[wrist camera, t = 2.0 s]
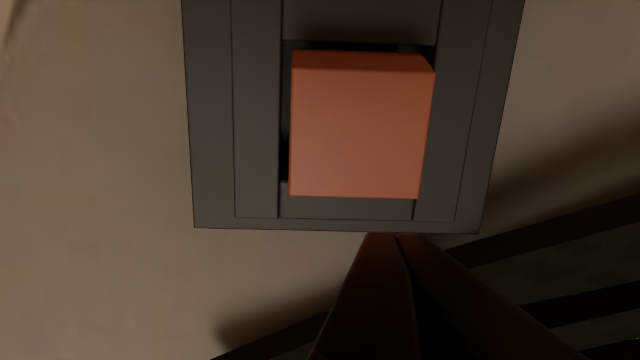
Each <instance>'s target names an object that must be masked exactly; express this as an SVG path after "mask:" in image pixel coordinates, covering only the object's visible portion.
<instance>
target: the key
mask: <svg viewBox="0 0 640 360" xmlns="http://www.w3.org/2000/svg"><path fill="white" fill-rule="evenodd" d="M435 77H436V73H435V71H434V70H433V69H432V68H431V66H430V65H429V64H428V62H427V61H426V60H425V58H424V57H423V56H422V54H420V53H402V52H375V51H349V50H323V49H297V48H294V49H293V50H292V64H291V101H290V140H289V179H288V194H289V196H308V197H348V198H388V199H418V198H419V192H420V185H421V178H422V171H423V164H424V156H425V149H426V142H427V135H428V128H429V120H430V113H431V106H432V99H433V92H434V85H435Z"/></svg>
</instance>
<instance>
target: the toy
mask: <svg viewBox="0 0 640 360" xmlns="http://www.w3.org/2000/svg"><path fill="white" fill-rule="evenodd" d="M443 251H445V252H446V253H447V254H449V255H450V256H451V257H453V258H454V259H455V260H457V261H458V262H459V263H461V264H462V265H463V266H465V267H466V268H467V269H469V270H470V271H472V272H473V273H474V274H476V275H477V276H478V277H480V278H481V279H482V280H484V281H485V282H486V283H488V284H489V285H490V286H492V287H493V288H494V289H496V290H497V291H498V292H500V293H501V294H502V295H504V296H505V297H506V298H508V299H509V300H511V301H512V302H513V303H515V304H516V305H517V306H518V305H523V304H527V303H532V302H537V301H542V300H547V299H552V298H557V297H561V296H566V295H571V294H576V293H581V292H585V293H581V294H577V295H573V296H568V297H564V298H560V299H556V300H552V301H548V302H544V303H540V304H535V305H531V306H527V307H523V308H521V309H523V310H524V311H525V312H527V313H528V314H529V315H531V316H532V317H533V318H535V319H536V320H537V321H539V322H540V323H541V324H543V325H544V326H545V327H547V328H548V329H549V330H551V331H552V332H554V333H555V334H556V335H558V336H559V337H560V338H562V339H563V340H564V341H566V342H567V343H568V344H570V345H571V346H572V347H574V348H575V349H576V351H577V352H576V354H577V353H582V354H583V355H585V356H586V357H587V358H589V359H590V360H640V338H639V337H640V193H639V194H635V195H632V196H629V197H625V198H622V199H618V200H615V201H611V202H608V203H605V204H601V205H598V206H594V207H591V208H587V209H584V210H581V211H577V212H574V213H570V214H567V215H563V216H560V217H557V218H553V219H550V220H546V221H543V222H539V223H536V224H533V225H529V226H526V227H522V228H519V229H515V230H512V231H509V232H505V233H502V234H498V235H495V236H491V237H488V238H485V239H481V240H478V241H474V242H471V243H467V244H464V245H460V246H457V247H454V248H450V249H447V250H443ZM605 287H606V288H605ZM600 288H601V289H600ZM595 289H597V290H595ZM591 290H593V291H591ZM586 291H589V292H586ZM330 310H331V309H330ZM330 310H328V311H325V312H323V313H321V314H318V315H316V316H313V317H311V318H309V319H306V320H304V321H301V322H299V323H297V324H294V325H292V326H289V327H287V328H285V329H282V330H280V331H277V332H275V333H273V334H270V335H268V336H266V337H263V338H261V339H258V340H256V341H254V342H251V343H249V344H246V345H244V346H242V347H239V348H237V349H234V350H232V351H230V352H227V353H225V354H222V355H220V356H218V357H215V358H213V359H210V360H306V359H307V357H308V355H309V353H310V351H311V350H312V348H313V345H314V343H315V341H316V339H317V337H318V335H319V333H320V331H321V329H322V326H323V324H324V322H325V320H326V318H327V316H328V314H329V312H330ZM635 338H637V339H635ZM630 339H631V340H630Z"/></svg>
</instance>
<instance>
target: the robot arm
mask: <svg viewBox="0 0 640 360" xmlns="http://www.w3.org/2000/svg"><path fill="white" fill-rule="evenodd" d="M576 352H577V351H576V349H575V348H574V347H572V346H571V345H570V344H568V343H567V342H566V341H564V340H563V339H562V338H560V337H559V336H558V335H556V334H555V333H554V332H552V331H551V330H549V329H548V328H547V327H545V326H544V325H543V324H541V323H540V322H539V321H537V320H536V319H535V318H533V317H532V316H531V315H529V314H528V313H527V312H525V311H524V310H523V309H521V308H520V307H519V306H517V305H516V304H515V303H513V302H512V301H511V300H509V299H508V298H506V297H505V296H504V295H502V294H501V293H500V292H498V291H497V290H496V289H494V288H493V287H492V286H490V285H489V284H488V283H486V282H485V281H484V280H482V279H481V278H480V277H478V276H477V275H476V274H474V273H473V272H472V271H470V270H469V269H467V268H466V267H465V266H463V265H462V264H461V263H459V262H458V261H457V260H455V259H454V258H453V257H451V256H450V255H449V254H447V253H446V252H445V251H443V250H442V249H441V248H439V247H438V246H437V245H435V244H434V243H433V242H431V241H430V240H428V239H427V238H426V237H424V236H423V235H421V234H418V233H397V234H395V236H394V235H393V234H392V233H380V232H370V233H368V234H367V235H366V236H365V238H364V240H363V242H362V245H361V247H360V249H359V251H358V253H357V255H356V257H355V259H354V261H353V263H352V266H351V268H350V270H349V272H348V274H347V276H346V278H345V280H344V282H343V284H342V287H341V289H340V291H339V293H338V295H337V297H336V299H335V301H334V303H333V305H332V308H331V310H330V312H329V314H328V316H327V318H326V320H325V322H324V324H323V326H322V329H321V331H320V333H319V335H318V337H317V339H316V341H315V343H314V345H313V348H312V350H311V351H310V353H309V355H308V357H307V359H306V360H590V359H589V358H587V357H586V356H585V355H583V354H582V353H577V354H576Z"/></svg>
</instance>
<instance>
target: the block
mask: <svg viewBox="0 0 640 360" xmlns="http://www.w3.org/2000/svg"><path fill="white" fill-rule="evenodd" d="M524 3H525V0H181V10H182V28H183V45H184V62H185V80H186V97H187V115H188V132H189V149H190V167H191V184H192V202H193V219H194V228H214V229H260V230H305V231H350V232H396V233H441V234H479V231H480V226H481V221H482V216H483V211H484V206H485V201H486V196H487V190H488V185H489V180H490V175H491V170H492V165H493V160H494V155H495V150H496V145H497V140H498V135H499V130H500V125H501V120H502V115H503V110H504V104H505V99H506V94H507V89H508V84H509V79H510V74H511V69H512V64H513V59H514V54H515V49H516V44H517V39H518V34H519V29H520V24H521V18H522V13H523V8H524ZM294 48H297V49H323V50H349V51H375V52H402V53H420V54H422V56H423V57H424V58H425V60H426V61H427V62H428V64H429V65H430V66H431V68H432V69H433V70H434V71H435V73H436V77H435V85H434V92H433V99H432V106H431V113H430V120H429V128H428V135H427V142H426V149H425V156H424V164H423V171H422V178H421V185H420V192H419V198H418V199H388V198H348V197H308V196H289V194H288V179H289V140H290V101H291V64H292V50H293V49H294Z"/></svg>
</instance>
